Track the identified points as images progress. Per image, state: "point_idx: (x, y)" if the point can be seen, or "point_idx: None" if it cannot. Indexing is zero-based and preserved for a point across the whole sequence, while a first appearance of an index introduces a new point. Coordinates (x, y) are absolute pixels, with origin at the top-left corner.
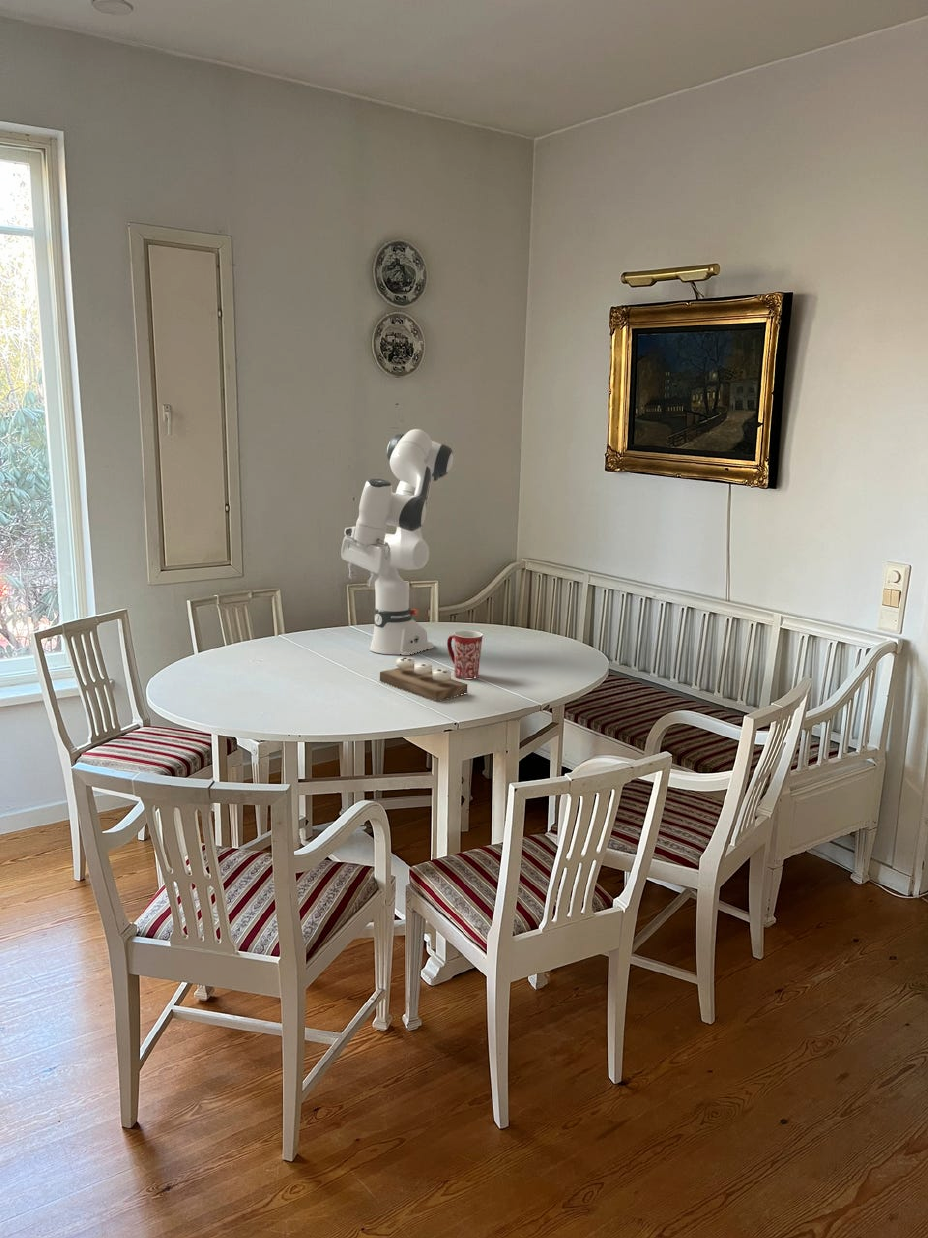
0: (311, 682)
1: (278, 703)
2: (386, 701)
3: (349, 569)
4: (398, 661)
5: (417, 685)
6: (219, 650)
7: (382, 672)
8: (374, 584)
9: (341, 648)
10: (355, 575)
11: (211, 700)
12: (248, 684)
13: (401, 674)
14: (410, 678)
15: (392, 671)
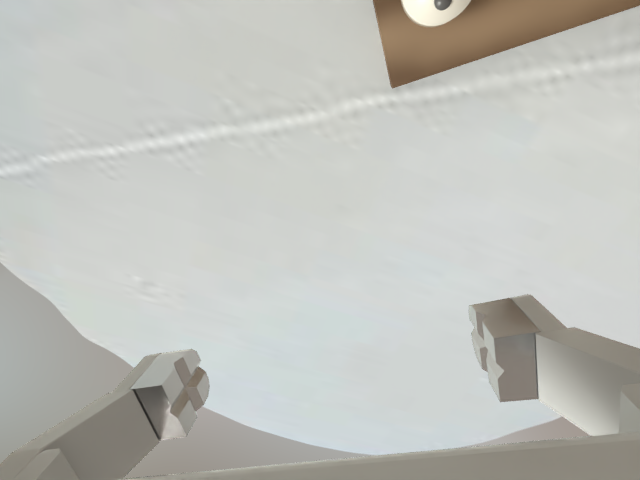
0: (332, 250)
1: (447, 345)
2: (579, 144)
3: (124, 469)
4: (443, 23)
5: (609, 14)
6: (71, 320)
7: (403, 82)
8: (540, 306)
9: (22, 66)
10: (180, 378)
11: (378, 410)
12: (307, 347)
13: (456, 21)
14: (520, 7)
15: (406, 41)
